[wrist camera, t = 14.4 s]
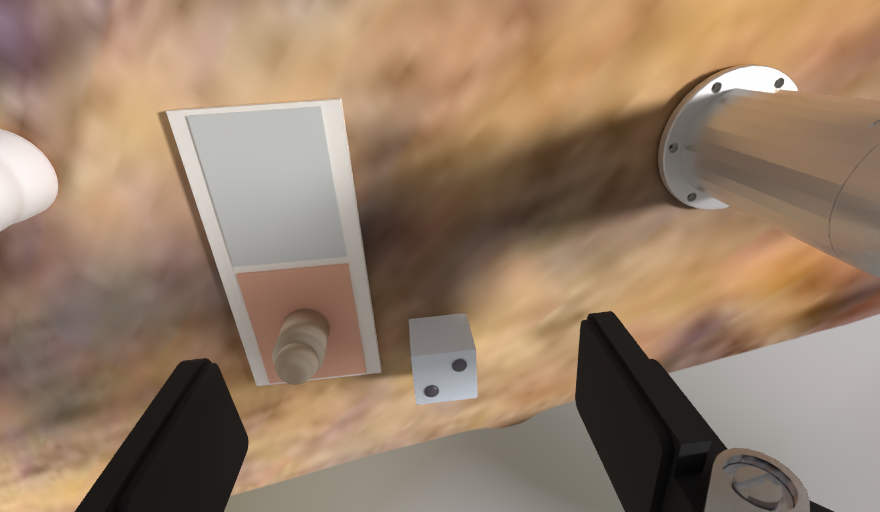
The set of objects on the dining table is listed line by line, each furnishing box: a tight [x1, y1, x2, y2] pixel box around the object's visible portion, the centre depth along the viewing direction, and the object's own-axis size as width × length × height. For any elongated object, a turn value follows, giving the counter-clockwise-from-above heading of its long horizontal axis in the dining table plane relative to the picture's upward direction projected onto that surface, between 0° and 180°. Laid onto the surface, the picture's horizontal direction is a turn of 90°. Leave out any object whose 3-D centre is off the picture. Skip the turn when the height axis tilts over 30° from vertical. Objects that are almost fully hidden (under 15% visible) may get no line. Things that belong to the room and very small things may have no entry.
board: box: [166, 98, 381, 386], centre depth 39 cm, size 13×28×1 cm, turn 4°
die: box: [409, 313, 477, 405], centre depth 43 cm, size 6×6×6 cm
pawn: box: [272, 309, 330, 384], centre depth 39 cm, size 4×4×7 cm
